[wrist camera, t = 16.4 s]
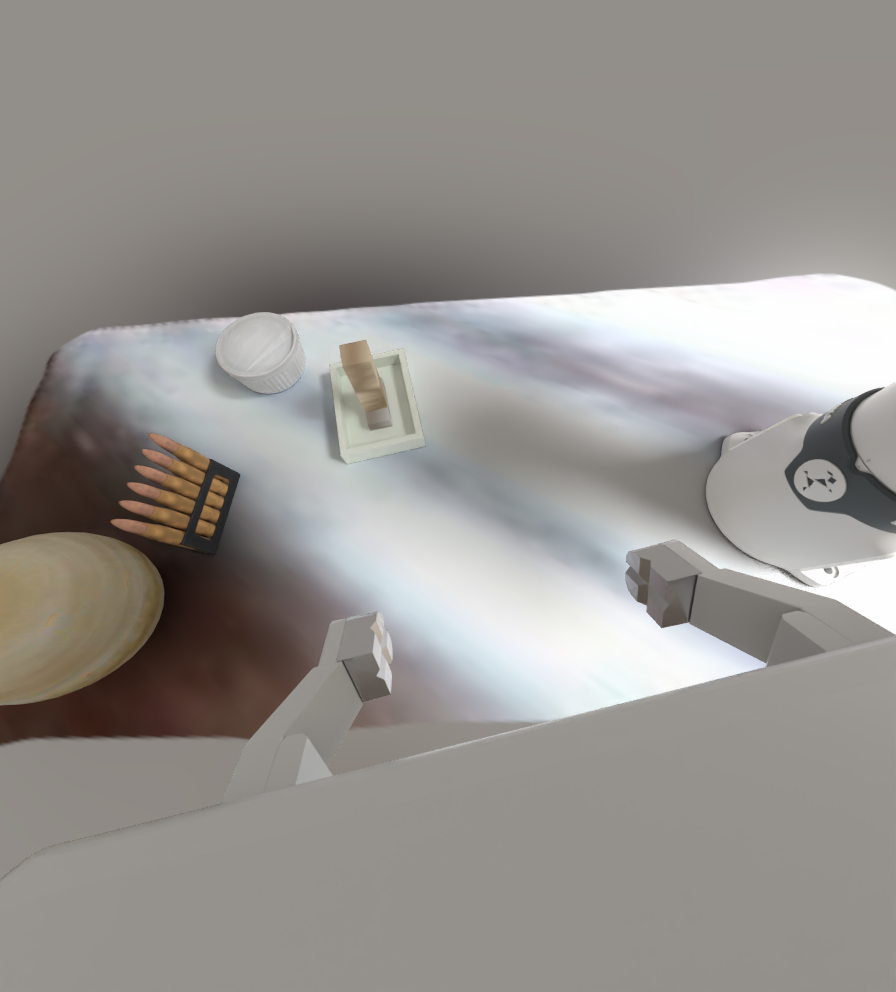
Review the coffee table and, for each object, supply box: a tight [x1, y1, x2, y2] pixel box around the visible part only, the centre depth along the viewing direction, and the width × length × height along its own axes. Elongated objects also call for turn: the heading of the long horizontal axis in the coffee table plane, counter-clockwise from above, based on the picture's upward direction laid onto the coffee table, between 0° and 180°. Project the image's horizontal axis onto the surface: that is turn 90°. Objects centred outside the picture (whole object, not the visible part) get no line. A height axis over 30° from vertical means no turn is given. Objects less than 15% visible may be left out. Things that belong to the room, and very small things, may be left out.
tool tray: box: [329, 349, 426, 464], centre depth 44 cm, size 11×15×2 cm
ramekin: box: [215, 312, 306, 394], centre depth 47 cm, size 11×11×5 cm
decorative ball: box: [0, 532, 164, 705], centre depth 31 cm, size 15×15×15 cm
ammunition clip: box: [111, 433, 240, 554], centre depth 36 cm, size 11×2×12 cm, turn 175°
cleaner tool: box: [339, 340, 393, 431], centre depth 40 cm, size 3×7×10 cm, turn 13°
